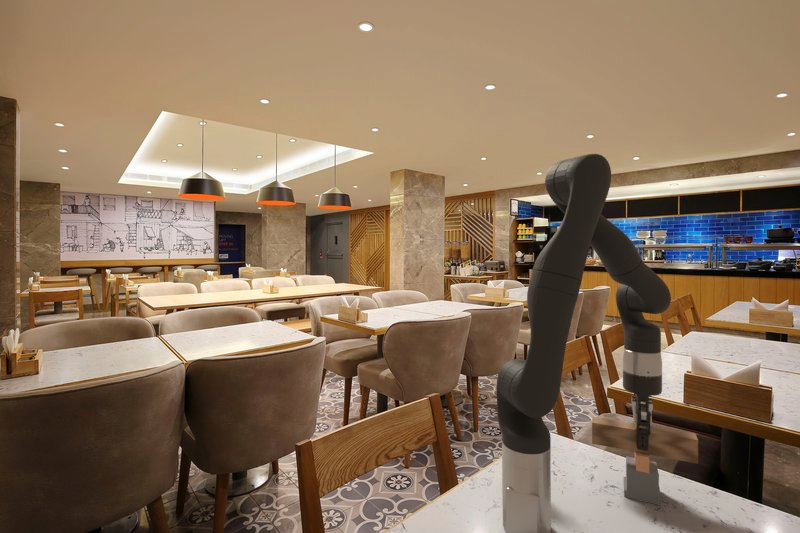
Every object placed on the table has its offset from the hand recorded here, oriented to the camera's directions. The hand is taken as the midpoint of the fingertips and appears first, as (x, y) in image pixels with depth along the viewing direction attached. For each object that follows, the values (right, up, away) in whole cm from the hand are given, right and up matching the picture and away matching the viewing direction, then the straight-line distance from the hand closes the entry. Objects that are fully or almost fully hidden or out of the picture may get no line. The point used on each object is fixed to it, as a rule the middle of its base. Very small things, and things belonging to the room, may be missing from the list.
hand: (641, 445), depth 90 cm
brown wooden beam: (0, -1, 0) cm, 1 cm away
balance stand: (0, -11, 0) cm, 11 cm away
